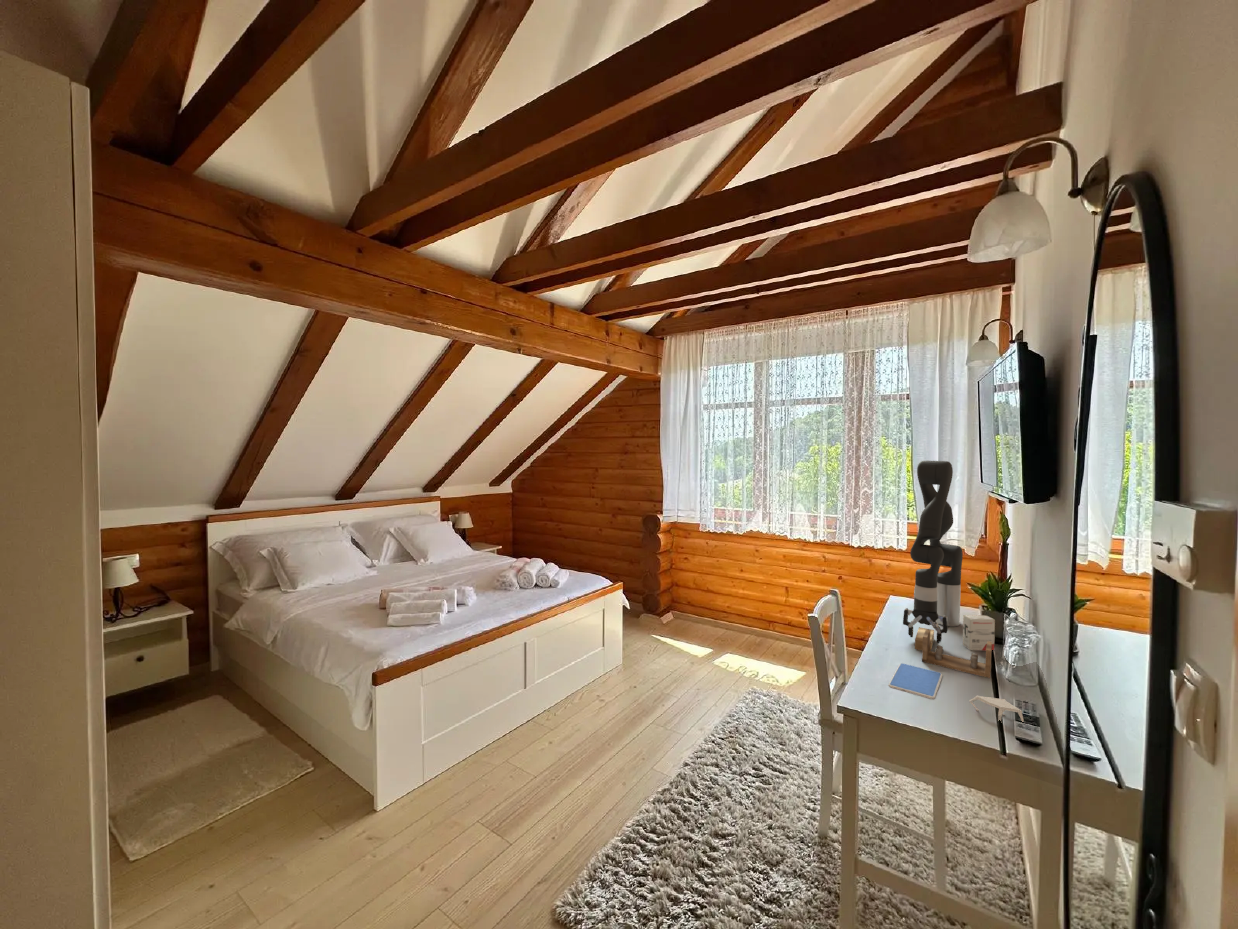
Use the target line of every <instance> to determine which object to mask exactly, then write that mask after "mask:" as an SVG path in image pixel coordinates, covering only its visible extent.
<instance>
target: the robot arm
mask: <svg viewBox="0 0 1238 929" xmlns="http://www.w3.org/2000/svg"><path fill="white" fill-rule="evenodd" d="M953 469H954V468H953V465H952V464H951V462H950V461H947V460H921V461H920V462H918V464H917V467H916V474H917V480H918V483H919V484H918V485H919V487H920V491H921V495H922V499H923V507H924V509H923V510H922V512H921V515H920V517H919V524H918V525H919V526H918V532H917V536H916V538H915V540H914V542H913V544H912V546H911V549H910V558H911V559H912V561H913V562H915V563H920V564H926V565H930V567H929V568H918V569H916V571H915V574H914V576H915V580H914V582H915V585H914V588H913V589H914V590H913V592H914V593H913V609H909V608H908V607H905V609H904V610H903V619H902V625H904V626H906V627H907V628H908V632H907V633H908V636H909V637H910V638H913V637H914V626H915V625H916V624H917V623H919V624H921V625H927V626H932V628H933V630H934V631H936V644H940V643H941V642H942V638H943V637H942V634H947V633H948V630H949V628H948V627H958V626H960V623H961V622H960V617H961V587H962V586H961V585H962V581H961V580H962V568H963V567H962V565H963V559H964V558H963V556H964V554H963V552H964V551H963V549H962V547H961V546H959V545H956V544H947V543H941V542H940V541H941V540H942V538H943V537H944V535H945V534H947V532H948V531H949V530H951V527H952V526H953V524H954V516H953V510H952V506H951V505H950V503H949V502H948V501H947V500H948V496H949V492H950V489H951V485H952V479H953V476H954V475H953V473H954V471H953ZM934 485H937V486H938V490H936V489H935V487H934ZM927 541H929V544H925V543H926V542H927ZM941 566H942V567H949V568H950V570H948V571H945V572H943V571H942V572H939V571H940V568H941ZM911 614H912V615H913V617H914V618H913V619H912V620H911V621H910V622H909V616H910V615H911ZM940 625H942V628H941V627H940Z"/></svg>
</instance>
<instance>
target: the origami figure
mask: <svg viewBox="0 0 1238 929" xmlns="http://www.w3.org/2000/svg"><path fill="white" fill-rule="evenodd" d="M974 701H981V702H983V703H984V704H986V705H989V706H991V707H994V708H997V709H998V713H997V719H998V720H997V722H998V721H999V720H1000V721H1001V722H1002V719H1003V718H1002V716H1006V714H1004V713H1005V711H1009V712H1014V713H1017V714H1018V716H1019V717H1020V722H1021V721H1022V722H1024V716H1023V710H1021V709H1020V708H1018V707H1016V706H1015V705H1013V704H1011V703H1010V702H1008V701H1007V700H1006V699H1005V698H996V697H990V696H989V697H988V696H981V695H975V697H973V698H971V699H969V703H970V704H971V705H972V706H973V707H974V708H975V711H976V712H979V711H980V710H979V708H978V707H977V706H976V704H974V703H973V702H974ZM1022 722H1021V723H1022ZM1024 723H1025V722H1024Z"/></svg>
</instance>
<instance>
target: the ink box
mask: <svg viewBox="0 0 1238 929" xmlns="http://www.w3.org/2000/svg"><path fill="white" fill-rule="evenodd" d="M962 619H963V620H962V624H963V625H962V646H964V647H965V648H966V649H968V650H969V651H985V652H986V647H987V641H990V642H992V650H994V651H995V639H996V638H995V636H996V633H995V632H996V629H995V628H996V627H995V626H996V624H995V623H996V620H995V619H994V618H992V617H990V616H988V615H977V614H976V615H975V614H974V615H973V614H965V615H963V618H962Z"/></svg>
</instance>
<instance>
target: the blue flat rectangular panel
mask: <svg viewBox="0 0 1238 929" xmlns="http://www.w3.org/2000/svg"><path fill="white" fill-rule="evenodd" d="M942 679H943V674H942V673H941V672H938V671H934V670H931V669H926V668H922V667H919V666H915V665H911V664H907V663H903V662H902V663H899V664H898V666H897V668H896V670H895V671H894V673H893V676H892V677H891V679H890V681H889V683H888V685H887V686H888V687H890V688H893V689H897V690H899V691H902V692H907V693H910V694H913V695H917V696H920V697H924V698H928V699H930V700H934V699H936V695H937V692H938V689H939V687H940V684H941V680H942Z"/></svg>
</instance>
